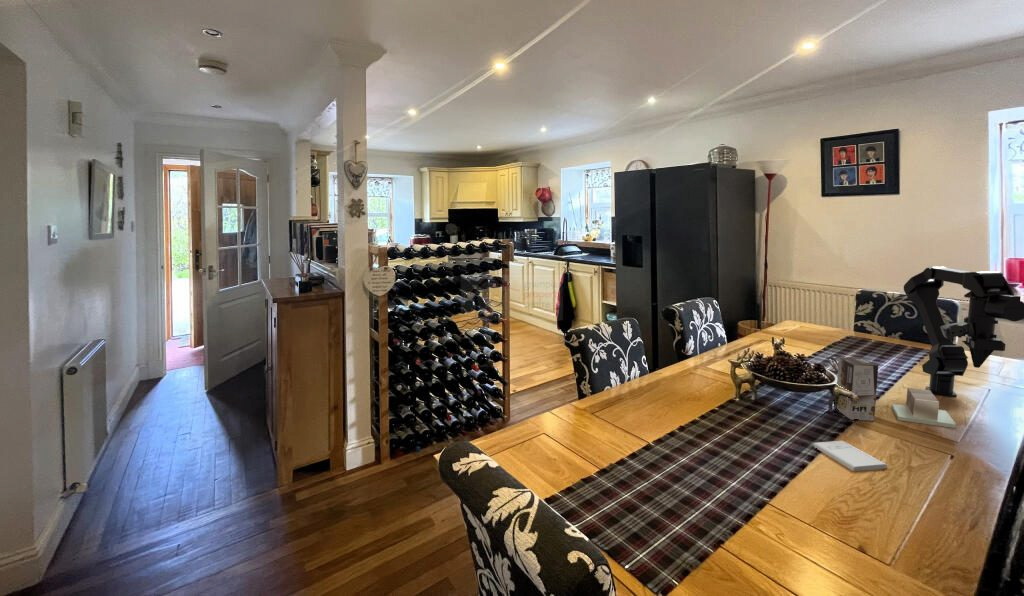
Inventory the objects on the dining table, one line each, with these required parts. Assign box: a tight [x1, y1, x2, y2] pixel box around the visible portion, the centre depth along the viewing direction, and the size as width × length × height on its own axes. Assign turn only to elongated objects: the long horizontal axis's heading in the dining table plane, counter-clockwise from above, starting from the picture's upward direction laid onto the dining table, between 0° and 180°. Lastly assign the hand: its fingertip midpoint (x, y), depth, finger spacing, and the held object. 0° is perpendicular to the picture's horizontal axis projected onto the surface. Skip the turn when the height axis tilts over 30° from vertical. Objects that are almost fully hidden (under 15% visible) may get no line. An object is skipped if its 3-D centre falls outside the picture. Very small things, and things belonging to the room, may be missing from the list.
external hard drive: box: [812, 440, 888, 472], centre depth 111 cm, size 2×8×12 cm
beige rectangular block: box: [905, 387, 940, 420], centre depth 133 cm, size 5×5×11 cm
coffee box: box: [836, 356, 879, 422], centre depth 135 cm, size 9×6×16 cm
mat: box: [891, 403, 957, 429], centre depth 132 cm, size 11×12×1 cm
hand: (976, 367), depth 137 cm, fingers closed
